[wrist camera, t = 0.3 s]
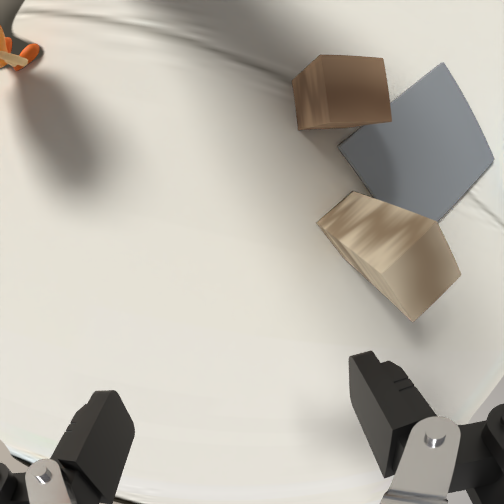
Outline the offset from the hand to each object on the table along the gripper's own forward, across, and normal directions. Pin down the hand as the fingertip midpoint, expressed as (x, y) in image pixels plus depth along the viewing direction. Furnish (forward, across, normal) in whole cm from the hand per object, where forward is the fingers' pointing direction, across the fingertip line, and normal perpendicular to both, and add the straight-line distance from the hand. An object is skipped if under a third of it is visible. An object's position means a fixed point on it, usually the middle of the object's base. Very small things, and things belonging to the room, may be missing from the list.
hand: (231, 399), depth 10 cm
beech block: (+23, -12, 0) cm, 26 cm away
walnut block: (+22, -10, -12) cm, 27 cm away
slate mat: (+23, -23, -6) cm, 33 cm away
